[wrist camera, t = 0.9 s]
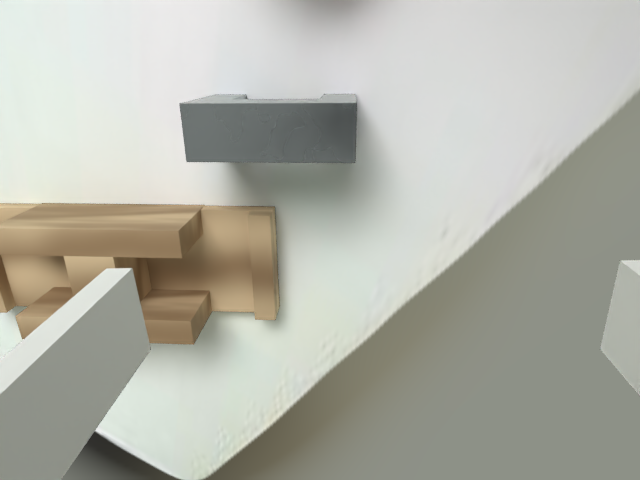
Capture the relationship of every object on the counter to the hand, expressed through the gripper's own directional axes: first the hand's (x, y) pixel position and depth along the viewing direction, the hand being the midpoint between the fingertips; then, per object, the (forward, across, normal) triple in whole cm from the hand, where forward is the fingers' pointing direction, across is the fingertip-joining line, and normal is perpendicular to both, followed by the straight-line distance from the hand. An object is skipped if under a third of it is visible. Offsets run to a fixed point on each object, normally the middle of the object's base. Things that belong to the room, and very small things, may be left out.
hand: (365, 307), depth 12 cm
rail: (+19, -17, -6) cm, 26 cm away
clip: (+19, -5, +3) cm, 20 cm away
